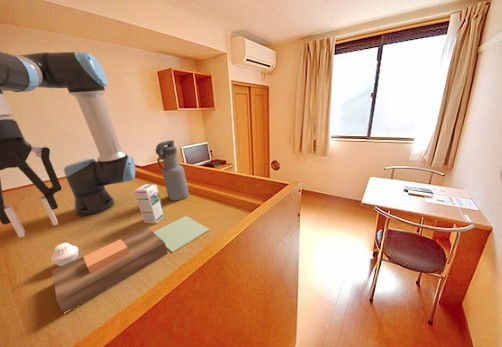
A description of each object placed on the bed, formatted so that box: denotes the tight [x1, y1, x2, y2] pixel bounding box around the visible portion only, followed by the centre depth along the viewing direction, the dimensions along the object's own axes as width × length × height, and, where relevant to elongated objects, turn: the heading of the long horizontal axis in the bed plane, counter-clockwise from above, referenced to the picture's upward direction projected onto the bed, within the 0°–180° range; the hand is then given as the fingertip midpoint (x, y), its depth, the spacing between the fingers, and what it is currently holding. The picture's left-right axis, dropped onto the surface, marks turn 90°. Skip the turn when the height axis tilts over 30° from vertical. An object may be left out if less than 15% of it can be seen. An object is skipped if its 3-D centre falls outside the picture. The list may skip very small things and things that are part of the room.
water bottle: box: [155, 140, 189, 202], centre depth 95 cm, size 10×10×28 cm
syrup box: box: [134, 183, 166, 224], centre depth 77 cm, size 6×6×14 cm
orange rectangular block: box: [83, 238, 129, 273], centre depth 54 cm, size 6×9×2 cm, turn 138°
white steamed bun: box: [50, 242, 79, 267], centre depth 58 cm, size 6×6×7 cm
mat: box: [152, 215, 210, 253], centre depth 70 cm, size 16×14×1 cm
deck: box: [51, 226, 169, 313], centre depth 56 cm, size 14×24×4 cm, turn 138°
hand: (39, 228), depth 43 cm, fingers open, 4 cm apart
